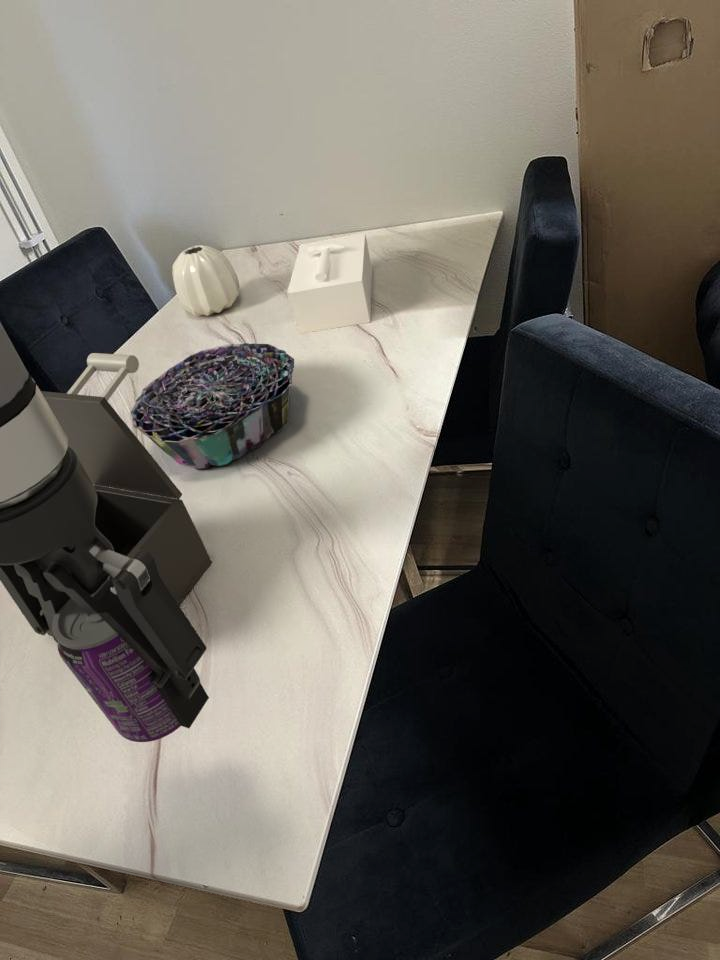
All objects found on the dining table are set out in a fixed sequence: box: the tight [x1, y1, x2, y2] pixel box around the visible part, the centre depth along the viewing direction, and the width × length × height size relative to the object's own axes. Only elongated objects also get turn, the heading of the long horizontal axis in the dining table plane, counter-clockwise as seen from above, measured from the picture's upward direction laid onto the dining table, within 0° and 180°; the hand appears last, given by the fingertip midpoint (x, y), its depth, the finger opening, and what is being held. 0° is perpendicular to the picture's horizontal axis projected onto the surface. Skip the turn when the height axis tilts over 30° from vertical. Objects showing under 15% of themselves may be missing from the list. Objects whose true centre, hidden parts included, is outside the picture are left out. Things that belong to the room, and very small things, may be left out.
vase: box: [171, 244, 240, 317], centre depth 145 cm, size 14×14×13 cm
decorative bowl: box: [130, 342, 295, 471], centre depth 107 cm, size 26×28×10 cm
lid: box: [40, 352, 183, 500], centre depth 78 cm, size 17×14×10 cm
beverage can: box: [52, 576, 202, 743], centre depth 49 cm, size 7×7×12 cm
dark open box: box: [40, 485, 213, 637], centre depth 80 cm, size 16×14×11 cm
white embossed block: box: [286, 232, 373, 335], centre depth 136 cm, size 14×25×11 cm, turn 178°
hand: (155, 697), depth 52 cm, fingers closed on beverage can, 7 cm apart
